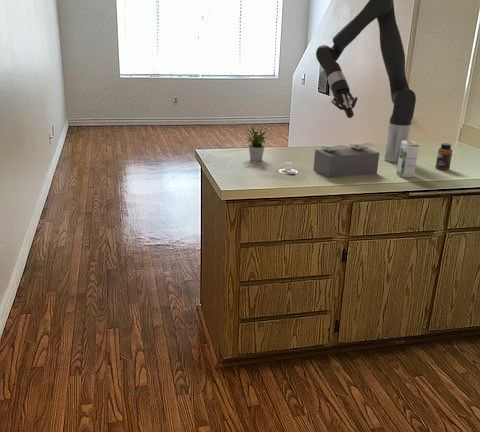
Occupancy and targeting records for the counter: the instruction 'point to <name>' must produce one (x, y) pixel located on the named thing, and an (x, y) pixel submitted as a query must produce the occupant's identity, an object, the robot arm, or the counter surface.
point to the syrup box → (407, 158)
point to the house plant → (256, 144)
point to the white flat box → (362, 145)
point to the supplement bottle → (444, 157)
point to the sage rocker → (333, 147)
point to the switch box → (346, 162)
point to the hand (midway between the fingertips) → (351, 116)
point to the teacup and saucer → (288, 169)
